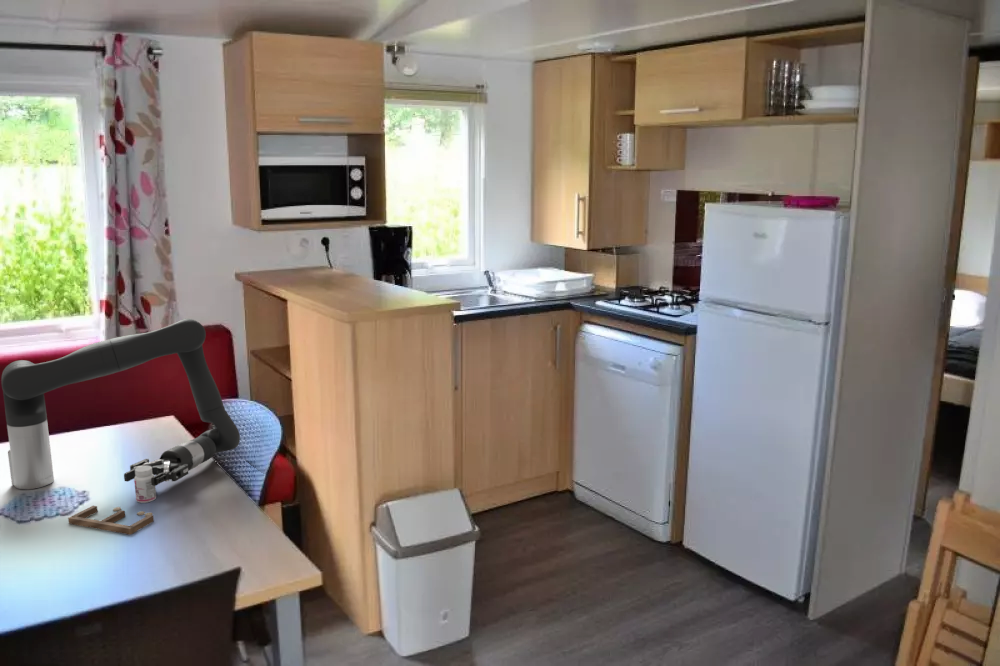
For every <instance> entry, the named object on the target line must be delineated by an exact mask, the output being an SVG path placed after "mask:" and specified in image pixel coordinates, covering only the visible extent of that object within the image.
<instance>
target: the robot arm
mask: <svg viewBox="0 0 1000 666" xmlns="http://www.w3.org/2000/svg"><path fill="white" fill-rule="evenodd" d="M206 336H207V333H206V329H205V327H204V326H203V324H201V322H199V321H197V320H195V319H192V318H191V319H190V318H185V319H181V320H178V321H176V322H174V323H172V324H169V325H167V326H164V327H162V328H158V329H155V330H152V331H148V332H144V333H143V332H142V333H136V334H129V335H128V334H127V335H123V336H118V337H113V338H109V339H105V340H101V341H98V342H94V343H91V344H88V345H86V346H84V347H81V348H79V349H76V350H74V351H73V352H71V353H69V354H67V355H65V356H63V357H59V358H57V359H53V360H49V361H46V362H45V361H44V362H40V363H33V362H31V361H30V360H23V359H21V360H15V361H13V362H11V363H9V364H8V365H6V366H5V368H4V369H3V370H2V374H1V378H0V379H1V380H0V381H1V389H2V395H3V402H4V412H5V414H4V415H5V421H6V429H7V436H8V443H9V450H8V451H7V458H8V465H9V472H10V473H9V474H10V479H11V480H10V481H11V485H12V486H14V487H15V488H16V489H19V490H32V489H38V488H42V487H45V486H48V485H50V484H52V483H53V482H54V481H55V477H54V469H53V460H52V452H51V443H50V434H49V426H48V425H49V424H48V417H47V416H48V414H47V408H46V399H45V393H48V392H51V391H55V390H57V389H59V388H62V387H64V386H68V385H72V384H77V383H80V382H85V381H90V380H93V379H94V380H95V379H96V378H101V377H106V376H110V375H113V374H115V373H120V372H122V371H126V370H128V369H131V368H135V367H137V366H139V365H142V364H145V363H146V362H150V361H151V360H154V359H157V358H160V357H164V356H169V355H170V356H171V355H173V354H177V356H178V358H179V361H180V363H181V364H182V367H183V369H184V371H185V373H186V376H187V377H186V378H187V379H188V382H189V386H190V390H191V394H192V396H193V399H194V402H195V405H196V409H197V412H198V416H199V417H200V420H201V421H202V422H203V423H211V424H213V425H214V427H215V428H212V429H208V430H205V431H204V432H202V433H201V434H200V435H199V436H197V437H195V438H193V439H191V440H188V441H186V442H185V441H184V442H182V443H180V444H177V445H176V446H173V447H172V448H168V449H167V450H165V451H164V452H163V453H161V455H160V457H159V458H158V459H155V460H153V461H150V459H149V458H145V459H142V460H140V461H138V462H135V463H132V464H130V465H129V471H126V472H125V473H123V479H124V482H130V481H132V480H134V478H135V476H136V475H135V469H136V468H138V467H141V466H151V467H152V474H154V477H152V478H151V483H152V485H153V486H155V487H156V486H157V485H160V484H162V483H163V482H169V481H170V480H171V482H176V481H178V480H180V479H182V478H183V477H186V476H187V475H189V471H191V470H193V469H195V468H197V467H199V465H201V464H203V463H205V462H207V461H208V460H210V459H211V458H212V457H214V455H215V454H218V453H222V452H226V451H231V450H235V449H236V448H237V447H238V446H239V444H240V440H241V435H240V431H239V429H238V427H237V425H236V424H235V422H234V421H233V420H232V418H231V416H230V415H229V413H228V412H227V410H226V409H225V406H224V402H223V399H222V396H221V393H220V391H219V389H218V386H217V383H216V382H215V380H214V379H215V378H214V377H213V375H212V373H211V371H210V369H209V366H208V364H207V361H206V358H205V354H204V353H205V352H204V348H203V344H204V343H205V341H206Z"/></svg>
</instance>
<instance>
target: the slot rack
mask: <svg viewBox="0 0 1000 666" xmlns="http://www.w3.org/2000/svg"><path fill="white" fill-rule="evenodd" d="M112 511H113V512H115V513H112V514H111V515H109V516H107V517H105V518H103V519H101V520H99V519H92V518H88V517H90V516H92V515H94V514H97V513H98V506H97V505H91V506H89V507H87V508H85V509H84V510H80V511H78V512H77V513H75V514H73V515H70V516H69V517H68V518H67V519H68V524H69V525H74V526H80V527H85V528H92V529H96V530H100V531H101V530H102V531H107V532H113V533H117V534H119V533H120V534H123V535H124V534H125V535H129V536H130V535H133V534H134V533H137V532H138V531H140V530H142V529H143V528H145V527H146V526H149V525H150V524H152V523H153V522H154V521H155V519H154V513H153V512H146V511H144V510H143V511H142V510H141V511H138V512H136V515H137V516H143V515H144V517H143V518H141V519H139V520H138V521H136V522H134V523H132V524H130V525H126V524H119V523H116V522H117V521H120V520H122V519H123V518H126V511H125V510H122V508H121V506H116V507H113V509H112Z"/></svg>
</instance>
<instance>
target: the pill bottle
mask: <svg viewBox="0 0 1000 666" xmlns="http://www.w3.org/2000/svg"><path fill="white" fill-rule="evenodd" d="M135 475H136V476H135V478H134V479H133V482H134V492H135V501H136V503H137V502H138V503H139V504H145V503H146V504H147V503H151V502H153V501H155V500H156V499H157V488H156V486H153V485H152V483H151V478H152V477H154V476H155V475H154V474H152V467H151V466H141V467H138V468H136V469H135Z"/></svg>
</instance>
